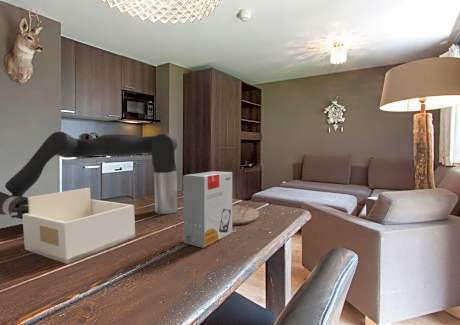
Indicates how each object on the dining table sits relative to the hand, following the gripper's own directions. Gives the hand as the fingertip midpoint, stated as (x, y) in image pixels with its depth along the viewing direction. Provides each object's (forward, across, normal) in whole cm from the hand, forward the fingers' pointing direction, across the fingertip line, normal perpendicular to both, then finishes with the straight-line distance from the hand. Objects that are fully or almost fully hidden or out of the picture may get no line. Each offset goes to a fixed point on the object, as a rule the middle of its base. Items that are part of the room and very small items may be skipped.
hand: (46, 212), depth 86 cm
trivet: (+44, +43, +8) cm, 62 cm away
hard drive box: (+50, +20, +7) cm, 55 cm away
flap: (+9, 0, +5) cm, 10 cm away
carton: (+19, 0, +7) cm, 20 cm away
